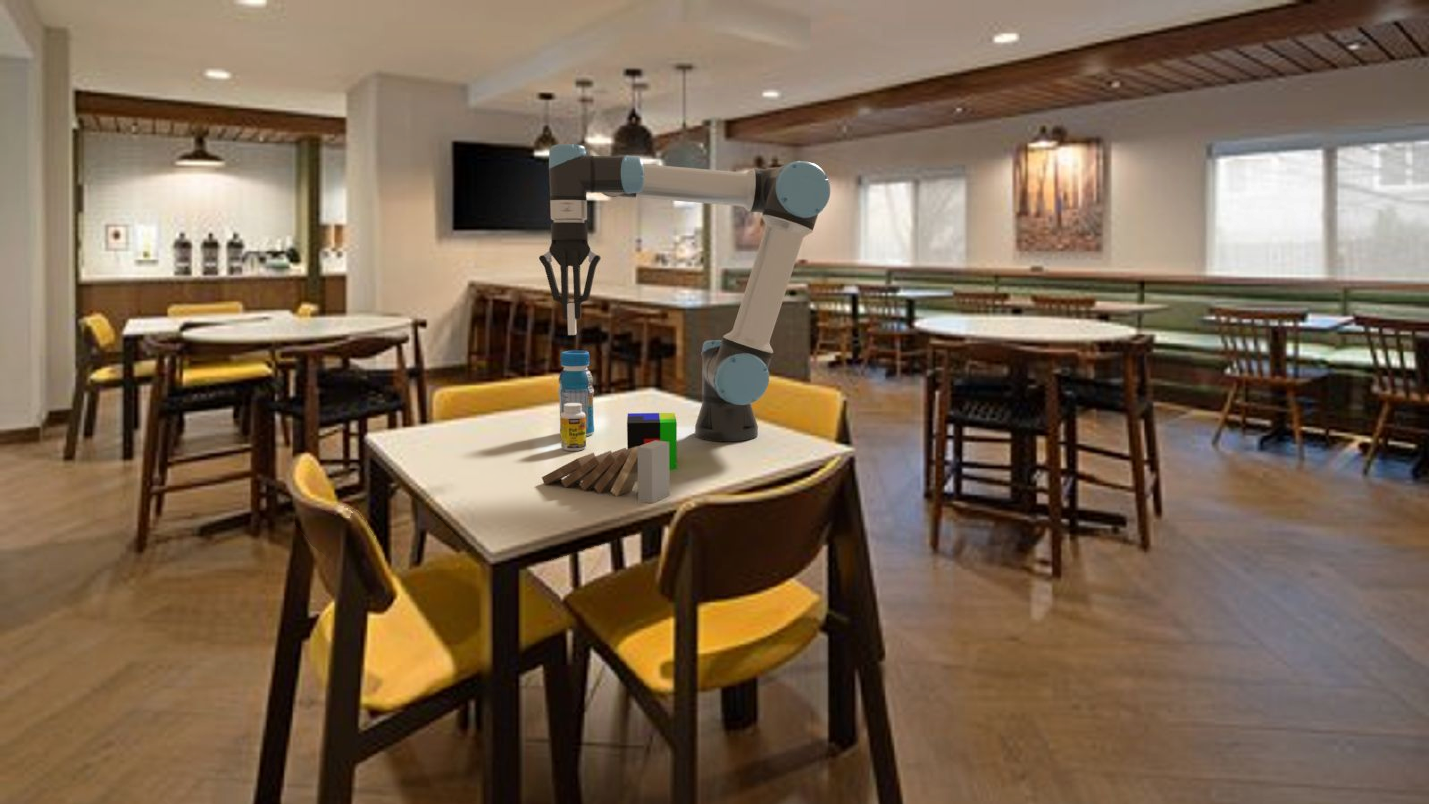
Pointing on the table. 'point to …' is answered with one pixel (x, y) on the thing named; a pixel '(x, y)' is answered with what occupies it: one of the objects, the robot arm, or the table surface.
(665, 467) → the rectangular block
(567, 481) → the domino
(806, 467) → the table surface
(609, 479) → the domino
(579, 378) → the beverage bottle
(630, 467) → the domino
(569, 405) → the supplement bottle
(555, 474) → the domino
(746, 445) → the table surface
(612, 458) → the domino
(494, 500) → the table surface
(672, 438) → the puzzle toy
